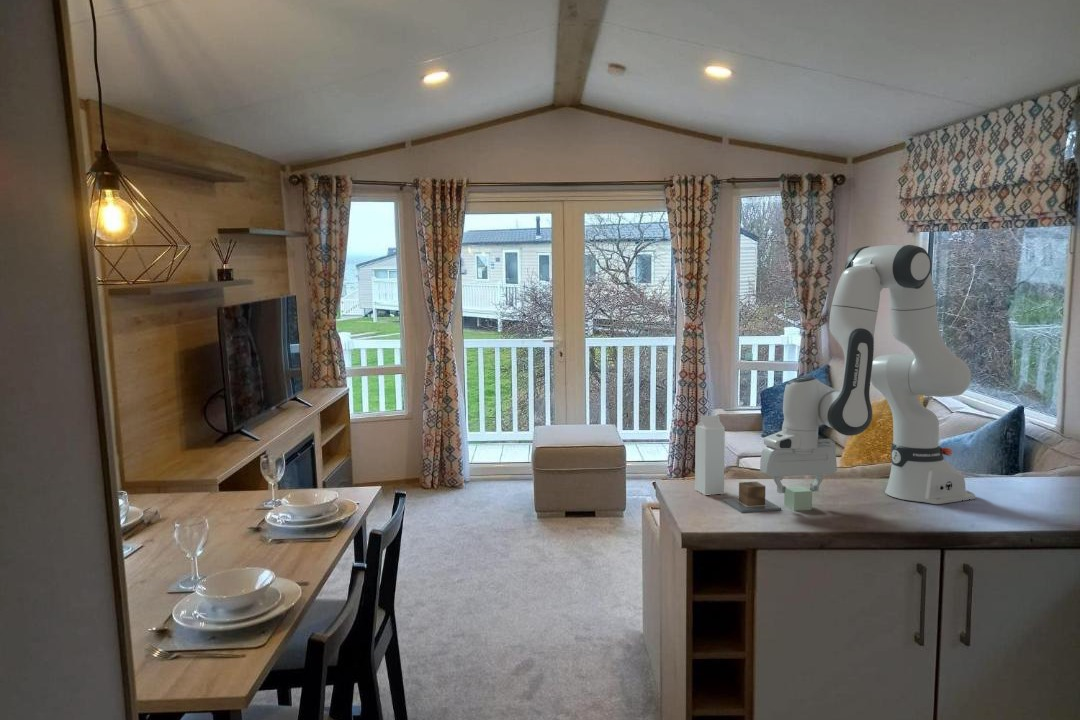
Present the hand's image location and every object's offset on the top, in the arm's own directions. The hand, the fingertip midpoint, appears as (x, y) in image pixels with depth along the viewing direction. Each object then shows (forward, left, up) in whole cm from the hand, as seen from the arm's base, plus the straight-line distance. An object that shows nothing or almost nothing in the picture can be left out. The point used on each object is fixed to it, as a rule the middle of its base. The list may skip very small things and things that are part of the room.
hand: (797, 492), depth 188 cm
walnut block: (+10, -5, -4) cm, 12 cm away
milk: (+16, -20, -5) cm, 26 cm away
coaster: (+10, -5, -4) cm, 12 cm away
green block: (-1, -1, -5) cm, 5 cm away
